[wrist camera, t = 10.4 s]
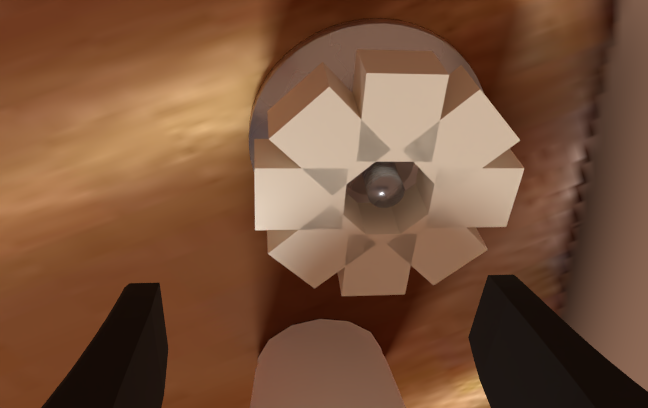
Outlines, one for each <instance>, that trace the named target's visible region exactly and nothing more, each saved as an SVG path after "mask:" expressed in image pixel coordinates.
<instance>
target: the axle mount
mask: <svg viewBox="0 0 648 408" xmlns="http://www.w3.org/2000/svg"><path fill="white" fill-rule="evenodd" d="M357 49H368V50H408V51H433V53H434V54H435V55H436V57H437V58H438V60H439V61H440V62H441V64H442V65H443V67H444V68H445V69H446V71H447V72H448V74H450V73H452V72H453V71H454V70H455V69H457V68H458V67H459V66H460V65H462V66H463V68H464V69H465V70H466V71H467V73H468V74H469V75H470V77H471V78H472V79H473V80H474V82H475V83H476V84H477V85H478V87H479V88H480V89H481V91H482V92H483V89H482V87H481V85H480V83H479V80H478V78H477V76H476V75H475V73H474V72H473V70H472V68H471V67H470V65H469V64H468V63H467V62H466V60H465V59H464V58H463V57H462V56H461V54H460V53H459V52H458V51H457V50H456V49H455V48H454V47H453V46H452V45H451V44H449V43H448V42H447V41H446V40H444V39H443V38H442V37H440V36H438V35H437V34H435V33H433V32H432V31H430V30H428V29H425V28H423V27H420V26H418V25H415V24H412V23H408V22H404V21H400V20H393V19H383V18H377V19H361V20H355V21H349V22H345V23H341V24H338V25H335V26H331V27H329V28H326V29H324V30H322V31H320V32H318V33H315V34H313V35H312V36H310V37H309V38H307V39H305V40H304V41H302V42H300V43H299V44H298V45H296V46H295V47H294V48H293V49H291V50H290V51H289V52H288V53H286V54H285V56H284V57H283V58H282V59H281V60H280V61H279V62H278V63H277V64H276V65H275V66H274V67H273V69H272V70H271V72H270V73H269V74H268V76H267V77H266V78H265V80H264V82H263V84H262V86H261V88H260V90H259V91H258V94H257V96H256V99H255V102H254V105H253V108H252V113H251V117H250V125H249V151H250V159H251V163H252V167H253V171H254V173H255V168H254V139H269V136H268V115H267V111H268V110H269V109H270V108H271V107H272V106H273V105H275V104H276V103H277V102H278V101H279V100H280V99H281V98H282V97H284V96H285V95H286V94H287V93H288V92H289V91H290V90H291V89H293V88H294V87H295V86H296V85H297V84H298V83H299V82H300V81H302V80H303V79H304V78H305V77H306V76H307V75H308V74H309V73H311V72H312V71H313V70H314V69H315V68H316V67H317V66H318V65H320V64H321V63H322V62H323V63H324V64H325V65H326V66H327V67H328V68H329V69H330V70H331V71H332V72H333V73H334V74H335V75H336V76H337V77H338V78H339V79H340V80H341V81H342V83H343V84H344V85H345V86H346V87H347V88H348V89H349V90H350V91H351V92H353V81H354V71H355V61H356V51H357ZM418 168H419V167H418V166H417V165H416V164H415V163H414V162H375V163H373V164H372V165H371V166H369V167H368V168H367V169H366V170H364V171H363V172H362V173H360V174H359V175H358V176H357V177H355V178H354V179H353V180H351V181H350V182H349V183H348V184H346V193H347V194H348V195H349V196H351V197H352V198H353V199H354V200H355V201H356V202H357V203H372V204H373V205H374V206H376V207H380V208H388V207H392V206H394V205H396V204H397V203H398V202H400V201H401V199H402V198H403V196H404V192H405V191H406V190H407V189H409V188H410V187H411V186H413V185H414V184H415V183H416V178H417V173H418Z"/></svg>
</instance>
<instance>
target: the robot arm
mask: <svg viewBox="0 0 648 408" xmlns="http://www.w3.org/2000/svg"><path fill="white" fill-rule="evenodd" d="M469 341H470V345H471V349H472V353H473V357H474V361H475V365H476V368H477V372H478V375H479V379H480V381H481V384H482V387H483V389H484V392H485V394H486V396H487V399H488V401H489V404H490V406H491V408H648V392H647V391H646V390H645V389H643V388H642V387H641V386H639V385H638V384H637V383H635V382H634V381H633V380H632V379H631V378H629V377H628V376H627V375H626V374H624V373H623V372H622V371H621V370H620V369H618V368H617V367H616V366H615V365H613V364H612V363H611V362H610V361H608V360H607V359H606V358H605V357H604V356H603V355H601V354H600V353H599V352H598V351H597V350H596V349H594V348H593V347H592V346H591V345H590V344H589V343H588V342H587V341H585V340H584V339H583V338H582V337H581V336H579V334H578V333H576V332H575V331H574V330H573V329H572V328H571V327H570V326H569V325H568V324H567V323H565V322H564V321H563V320H562V319H561V318H560V317H559V316H558V315H557V314H556V313H555V312H554V311H553V310H552V309H550V308H549V307H548V306H547V305H546V304H545V303H544V302H543V301H542V300H541V299H540V298H539V297H538V296H537V295H536V294H534V293H533V292H532V291H531V290H530V289H529V288H528V287H527V286H526V285H525V284H524V283H523V282H522V281H520V280H519V279H518V278H517V277H516V276H515V275H488V277H487V280H486V284H485V287H484V290H483V293H482V296H481V299H480V303H479V306H478V309H477V312H476V315H475V318H474V321H473V325H472V328H471V331H470V334H469ZM167 357H168V343H167V336H166V328H165V321H164V313H163V306H162V298H161V291H160V283H130V284H128V285H127V286H126V287H125V288H124V290H123V291H122V293H121V295H120V297H119V298H118V300H117V302H116V304H115V305H114V307H113V309H112V310H111V312H110V313H109V315H108V317H107V318H106V320H105V321H104V323H103V324H102V326H101V328H100V329H99V331H98V332H97V334H96V335H95V337H94V338H93V340H92V341H91V342H90V344H89V345H88V347H87V348H86V350H85V351H84V352H83V354H82V355H81V357H80V358H79V359H78V361H77V362H76V364H75V365H74V366H73V368H72V369H71V371H70V372H69V373H68V374H67V376H66V377H65V378H64V380H63V381H62V382H61V383H60V385H59V386H58V387H57V389H56V390H55V391H54V392H53V394H52V395H51V396H50V397H49V399H48V400H47V401H46V403H45V404H44V405H43V406H42V407H41V408H161V406H162V401H163V396H164V389H165V379H166V368H167Z"/></svg>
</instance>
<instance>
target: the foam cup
mask: <svg viewBox="0 0 648 408" xmlns="http://www.w3.org/2000/svg"><path fill="white" fill-rule="evenodd" d="M250 408H406V407H405V405H404V402H403V400H402V397H401V395H400V392H399V390H398V387H397V385H396V383H395V380H394V378H393V375H392V373H391V370H390V368H389V365H388V363H387V360H386V358H385V357H384V355H383V354H382V349H381V347H380V346H379V344H378V343H377V341H376V340H375V338H374V337H373V335H372V333H371V332H369V331H367V330H365V329H363V328H361V327H359V326H357V325H355V324H353V323H351V322H349V321H340V320H328V319H317V320H313V321H309V322H304V323H300V324H296V325H291V326H290V327H288V328H287V329H285V330H284V331H282V332H280V333H279V334H277V335H276V336H274V337H272V338H271V339H269V341H268V342H267V344H266V345H265V347H264V349H263V350H262V352H261V354H260V355H259V357H258V366H257V368H256V372H255V378H254V385H253V391H252V398H251V405H250Z"/></svg>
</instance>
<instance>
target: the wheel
mask: <svg viewBox="0 0 648 408" xmlns="http://www.w3.org/2000/svg"><path fill="white" fill-rule="evenodd" d="M267 115H268V136H269V139H254V168H255V230H267V245H268V254H269V255H270V256H271V257H273V258H274V259H276V260H277V261H278V262H280V263H281V264H282V265H284V266H285V267H286V268H288V269H289V270H290V271H292V272H293V273H294V274H296V275H297V276H298V277H300V278H301V279H302V280H304V281H305V282H306V283H308V284H309V285H310V286H312V287H313V288H314V289H315V288H316V287H318V286H319V285H320V284H322V283H323V282H324V281H326V280H327V279H329V278H330V277H331V276H333V275H334V274H336V273H337V274H338V279H339V285H340V290H341V296H370V295H405V292H406V287H407V282H408V277H409V272H410V267H411V266H412V267H413V268H414V269H416V270H417V271H418V272H419V273H420V274H421V275H422V276H423V277H425V278H426V279H427V280H428V281H429V282H430V283H431V284H432V285H435V284H437V283H438V282H440V281H441V280H443V279H444V278H446V277H447V276H449V275H450V274H452V273H453V272H455V271H456V270H458V269H459V268H461V267H462V266H464V265H465V264H467V263H468V262H470V261H471V260H473V259H474V258H476V257H477V256H479V255H480V254H482V253H483V252H485V251H487V250H488V249H487V247H486V245H485V243H484V241H483V240H482V238H481V236H480V234H479V232H478V230H477V228H476V227H506V226H507V223H508V219H509V216H510V213H511V210H512V207H513V203H514V200H515V197H516V194H517V191H518V188H519V184H520V181H521V178H522V175H523V172H524V167H523V166H522V164H521V163H520V161H519V160H518V159H517V157H516V156H515V155H514V153H513V152H512V151H511V149H510V148H511V147H512V146H513V145H515V144H516V143H518V142H519V141H520V139H519V138H518V137H517V136H516V134H515V133H514V132H513V130H512V129H511V128H510V127H509V125H508V124H507V123H506V121H505V120H504V119H503V118H502V116H501V115H500V114H499V112H498V111H497V110H496V109H495V107H494V106H493V105H492V103H491V102H490V101H489V100H488V98H487V97H486V96H485V94H484V93H483V92H482V91H481V89H480V88H479V87H478V85H477V84H476V83H475V82H474V80H473V79H472V78H471V77H470V75H469V74H468V73H467V71H466V70H465V69H464V68H463V66H462V65H460V66H459V67H458V68H457V69H455V70H454V71H453V72H452V73H450V74H448V72H447V71H446V69H445V68H444V67H443V65H442V64H441V62H440V61H439V60H438V58H437V57H436V55H435V54H434V53H433V51H408V50H368V49H357V51H356V61H355V71H354V81H353V92H351V91H350V90H349V89H348V88H347V87H346V86H345V85H344V84H343V83H342V81H341V80H340V79H339V78H338V77H337V76H336V75H335V74H334V73H333V72H332V71H331V70H330V69H329V68H328V67H327V66H326V65H325V64H324V63H323V62H322V63H321V64H320V65H318V66H317V67H316V68H315V69H314V70H313V71H312V72H311V73H309V74H308V75H307V76H306V77H305V78H304V79H303V80H302V81H300V82H299V83H298V84H297V85H296V86H295V87H294V88H293V89H291V90H290V91H289V92H288V93H287V94H286V95H285V96H284V97H282V98H281V99H280V100H279V101H278V102H277V103H276V104H275V105H273V106H272V107H271V108H270V109H269V110H268V111H267ZM375 162H414V163H415V164H416V165H417V166H418V167H419V168H418V173H417V178H416V183H415V184H414V185H413V186H411V187H410V188H409V189H407V190H406V191H405V192H404V196H403V198H402V199H401V201H400V202H398V203H397V204H396V205H394V206H392V207H388V208H380V207H376V206H374V205H373V204H372V203H357V202H356V201H355V200H354V199H353V198H352V197H351V196H349V195H348V194H347V193H346V184H348V183H349V182H350V181H351V180H353V179H354V178H355V177H357V176H358V175H359V174H360V173H362V172H363V171H364V170H366V169H367V168H368V167H369V166H371V165H372V164H373V163H375Z"/></svg>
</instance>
